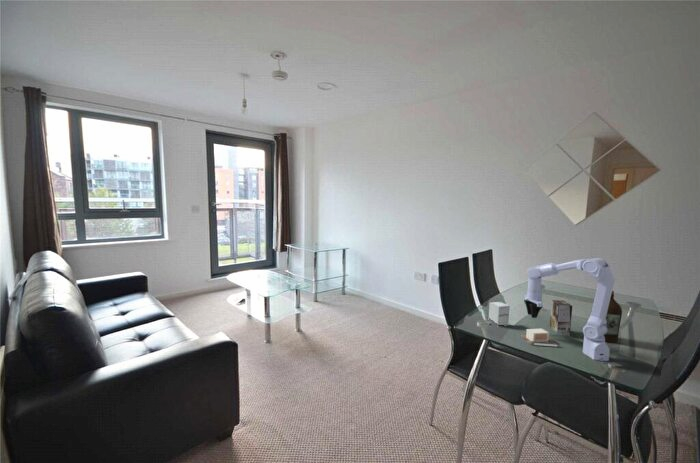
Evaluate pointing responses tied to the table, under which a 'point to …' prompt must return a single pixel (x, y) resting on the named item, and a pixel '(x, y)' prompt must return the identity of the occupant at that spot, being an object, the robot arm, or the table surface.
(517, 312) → the table surface
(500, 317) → the supplement box
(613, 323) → the olive oil
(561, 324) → the coffee box
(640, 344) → the table surface
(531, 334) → the cream box
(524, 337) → the tan wooden board
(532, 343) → the price rail
